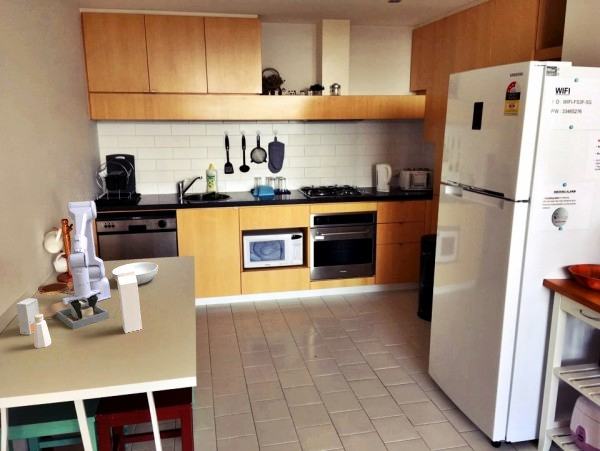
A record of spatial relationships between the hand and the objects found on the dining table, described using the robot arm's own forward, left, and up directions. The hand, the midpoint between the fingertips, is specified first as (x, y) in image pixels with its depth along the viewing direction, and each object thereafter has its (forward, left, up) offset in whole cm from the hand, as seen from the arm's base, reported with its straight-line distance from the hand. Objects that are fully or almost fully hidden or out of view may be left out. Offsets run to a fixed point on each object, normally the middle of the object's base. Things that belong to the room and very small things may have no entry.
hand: (85, 316), depth 184 cm
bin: (0, -4, -2) cm, 4 cm away
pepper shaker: (+19, +9, -2) cm, 21 cm away
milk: (-8, +21, -2) cm, 23 cm away
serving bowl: (-35, -27, -2) cm, 44 cm away
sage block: (0, -7, -2) cm, 7 cm away
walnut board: (+6, -19, -2) cm, 20 cm away
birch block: (0, 0, -2) cm, 2 cm away
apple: (-10, -38, -2) cm, 39 cm away
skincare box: (+18, -6, -2) cm, 19 cm away
